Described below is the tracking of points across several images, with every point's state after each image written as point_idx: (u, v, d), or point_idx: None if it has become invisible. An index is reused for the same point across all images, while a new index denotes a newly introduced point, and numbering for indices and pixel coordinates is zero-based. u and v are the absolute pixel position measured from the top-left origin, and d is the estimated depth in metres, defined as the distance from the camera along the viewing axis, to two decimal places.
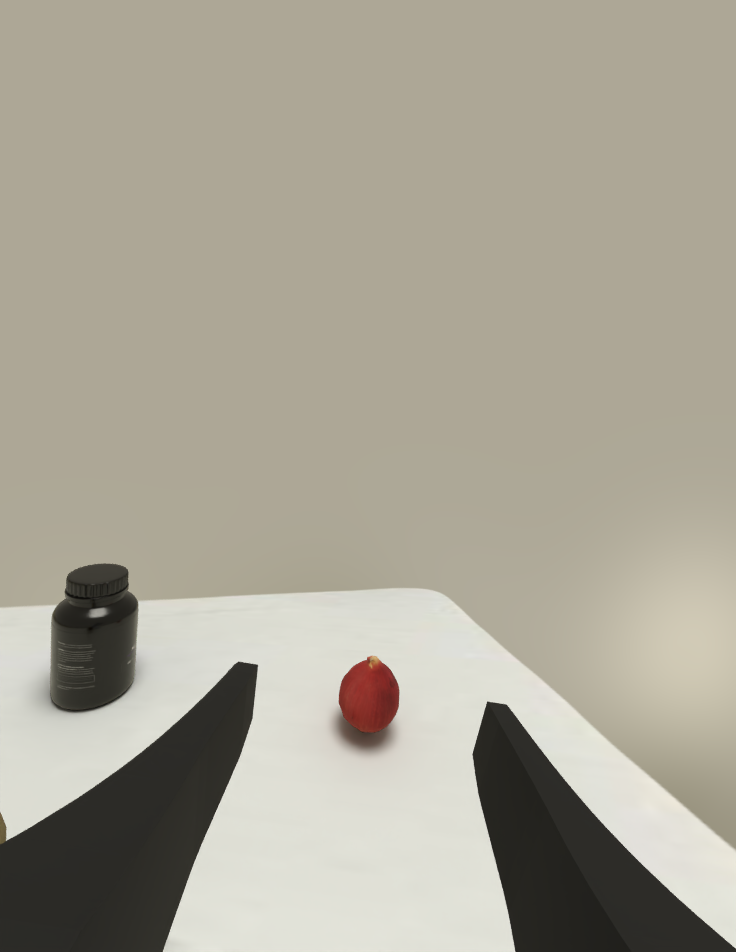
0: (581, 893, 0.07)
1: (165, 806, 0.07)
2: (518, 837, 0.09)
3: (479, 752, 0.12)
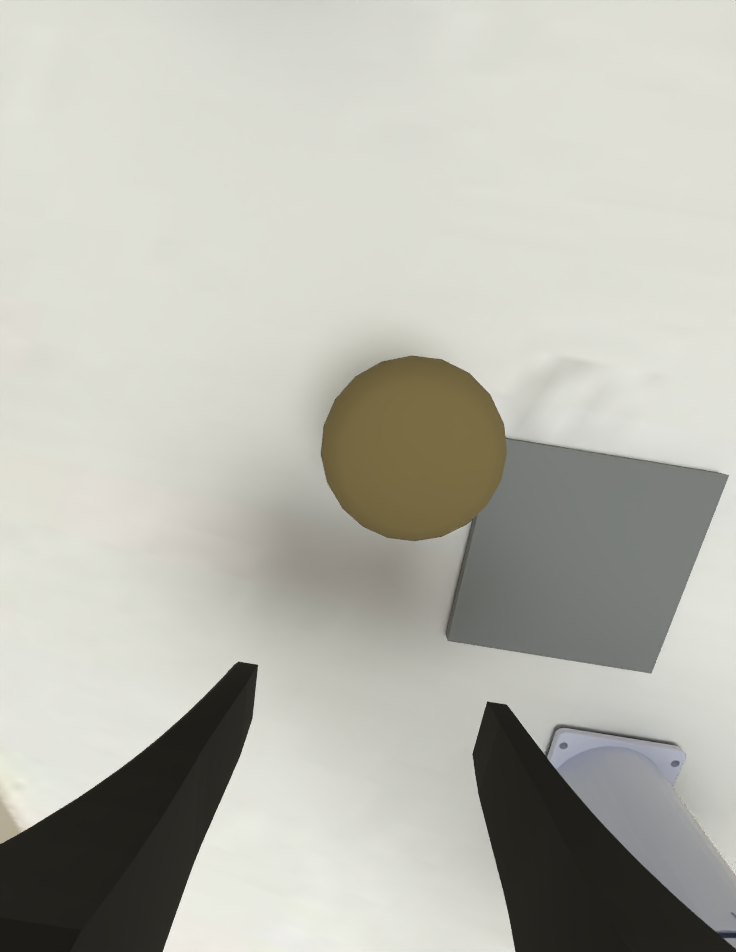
0: (581, 893, 0.07)
1: (165, 806, 0.07)
2: (518, 837, 0.09)
3: (479, 752, 0.12)
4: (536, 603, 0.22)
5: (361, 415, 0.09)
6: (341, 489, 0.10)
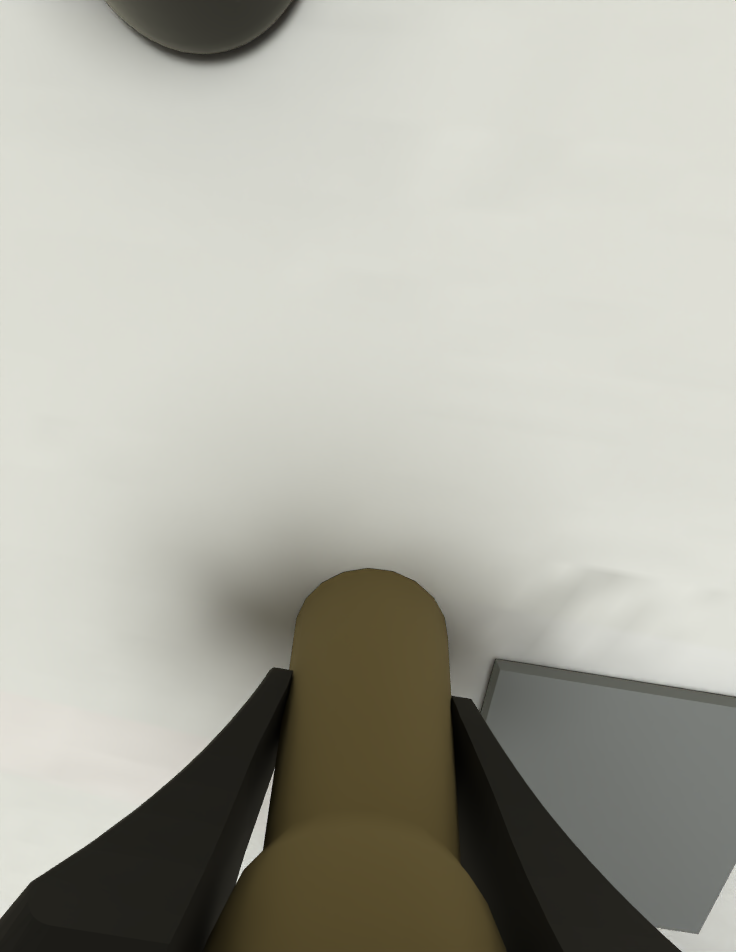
0: (520, 883, 0.07)
1: (225, 816, 0.07)
2: (472, 830, 0.09)
3: None
4: None
5: None
6: None
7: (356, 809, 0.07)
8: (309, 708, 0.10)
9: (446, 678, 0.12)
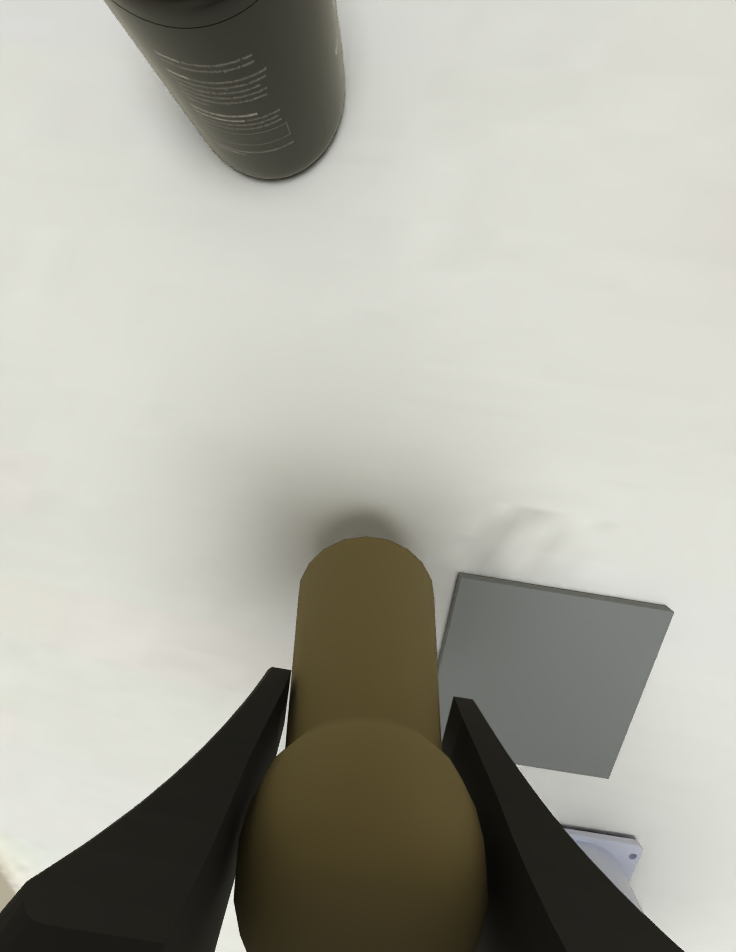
0: (522, 883, 0.07)
1: (222, 815, 0.07)
2: None
3: (445, 747, 0.12)
4: (501, 718, 0.23)
5: (279, 912, 0.06)
6: None
7: (363, 714, 0.09)
8: (319, 646, 0.12)
9: (433, 628, 0.14)
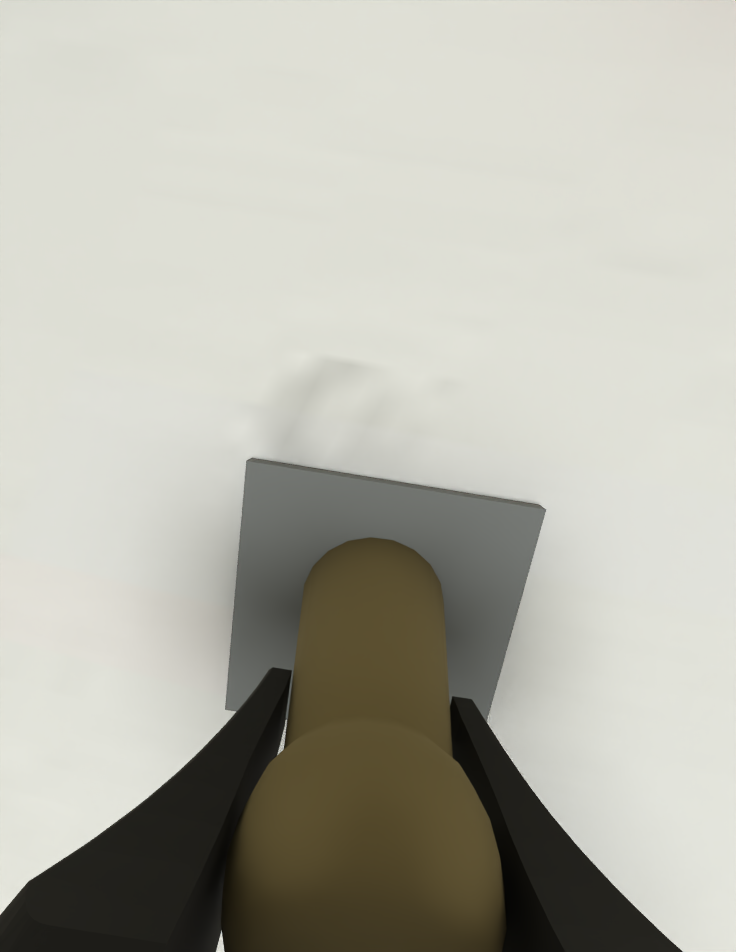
0: (522, 884, 0.07)
1: (223, 815, 0.07)
2: None
3: None
4: None
5: (268, 934, 0.06)
6: None
7: (364, 715, 0.08)
8: (320, 647, 0.11)
9: (442, 630, 0.13)
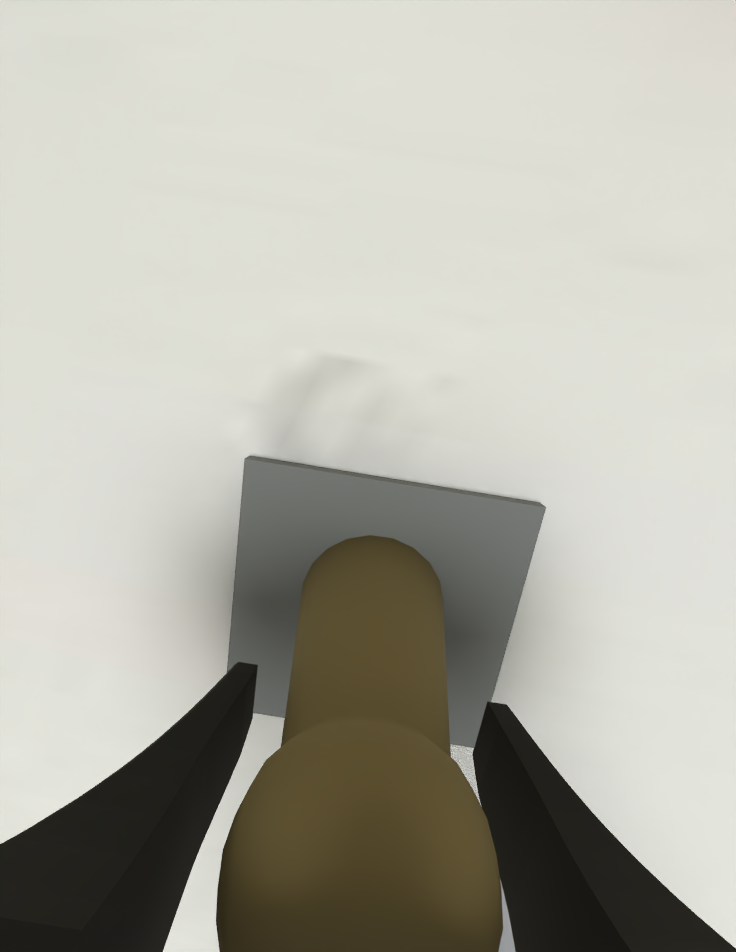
0: (581, 893, 0.07)
1: (165, 806, 0.07)
2: (518, 837, 0.09)
3: (479, 752, 0.12)
4: None
5: (262, 933, 0.06)
6: None
7: (361, 713, 0.08)
8: (318, 645, 0.11)
9: (441, 628, 0.13)
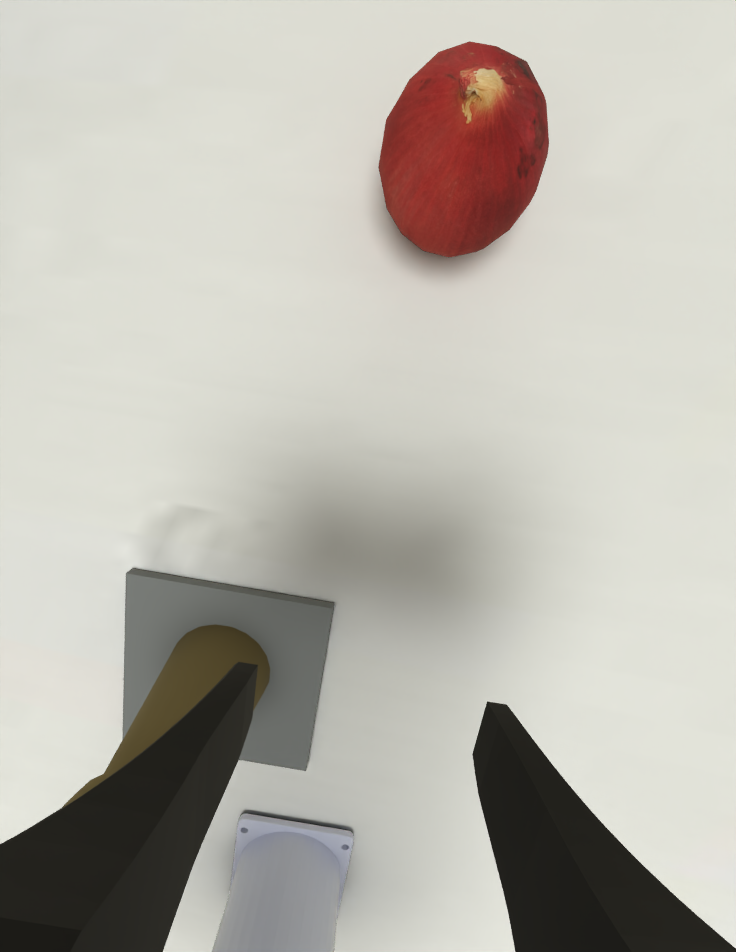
0: (581, 893, 0.07)
1: (165, 806, 0.07)
2: (518, 837, 0.09)
3: (479, 752, 0.12)
4: None
5: None
6: None
7: None
8: (141, 715, 0.18)
9: None
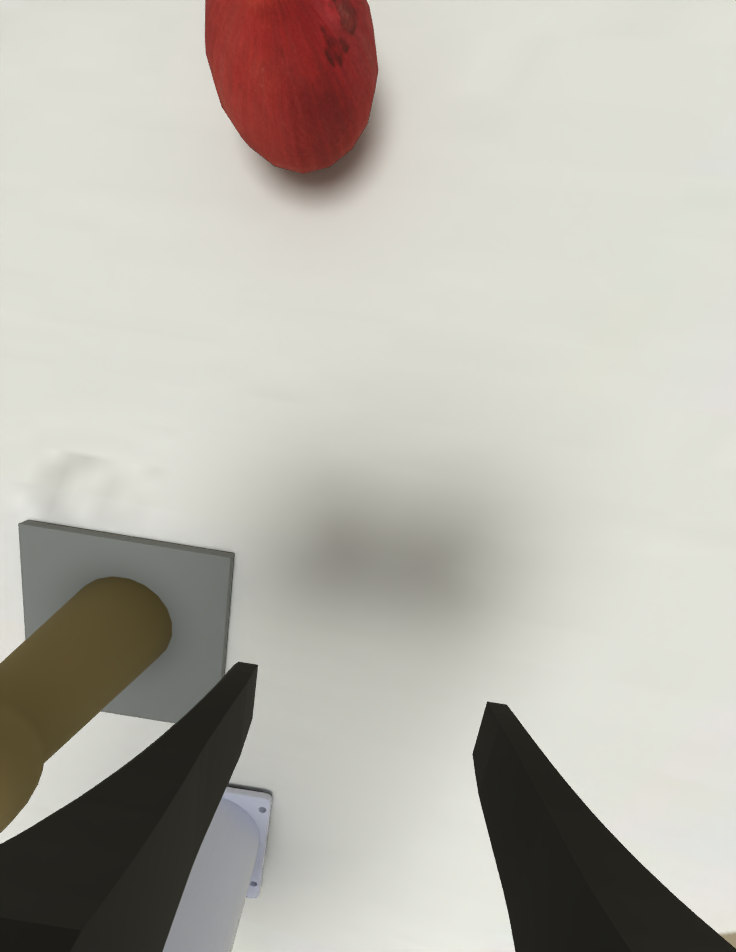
0: (581, 893, 0.07)
1: (165, 806, 0.07)
2: (518, 837, 0.09)
3: (479, 752, 0.12)
4: None
5: None
6: None
7: None
8: (8, 656, 0.17)
9: (125, 644, 0.19)
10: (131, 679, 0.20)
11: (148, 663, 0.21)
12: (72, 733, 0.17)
